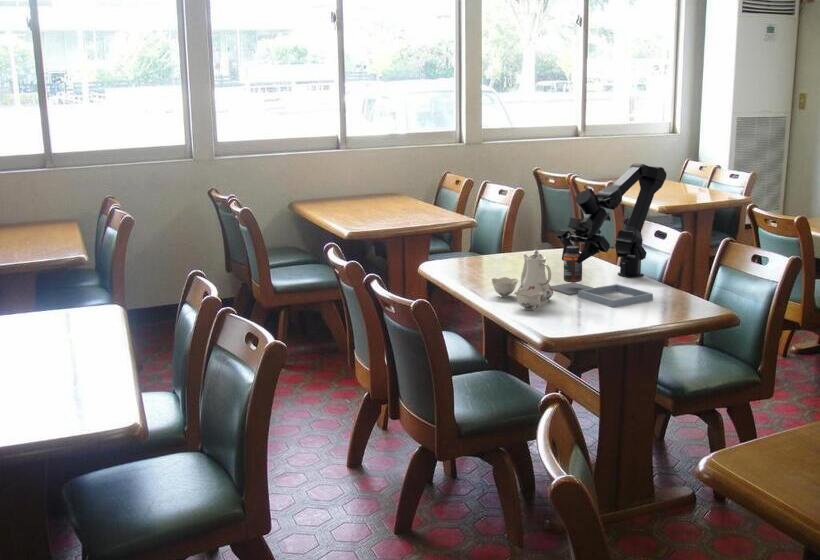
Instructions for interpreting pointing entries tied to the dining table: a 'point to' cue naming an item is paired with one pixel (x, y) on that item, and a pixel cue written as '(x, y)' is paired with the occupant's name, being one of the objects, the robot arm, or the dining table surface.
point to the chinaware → (528, 283)
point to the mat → (569, 288)
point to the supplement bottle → (572, 265)
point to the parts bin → (635, 298)
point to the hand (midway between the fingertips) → (570, 261)
